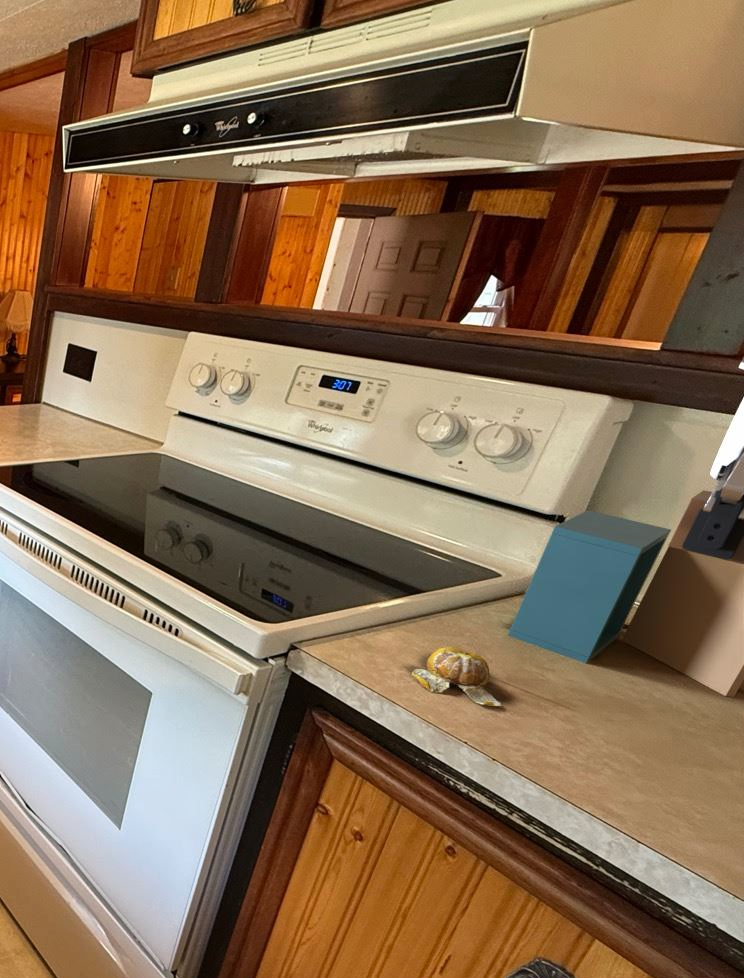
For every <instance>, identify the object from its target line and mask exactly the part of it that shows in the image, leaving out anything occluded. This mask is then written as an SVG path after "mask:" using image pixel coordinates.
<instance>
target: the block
mask: <svg viewBox="0 0 744 978" xmlns="http://www.w3.org/2000/svg"><path fill="white" fill-rule="evenodd" d="M712 492H713V491H710V490H701V491H700V492H699V493H697V494H695V496H693V497H692V498H690V500H689V502H688V505H687V507H686V509H685V511H684V512H683V515H682V517H681V519H680V521H679V523H678V525H677V527H676V529H675V530H674V533H673V535H672V537H671V539H670V541H669V543H668V545H667V547H673V548H677V549H682V550H685V549H683V547H682V545H683V543H684V541H685V539H686V537H687V535H688V533H689V531H690V529H691V527H692V525H693V523H694V521H695V519H696V517H697V515H698V513H699V511H700V509H704V507H705V505H706V503H707V501H708V499H709V497H710V495H711V494H712ZM686 551H688V550H686ZM690 552H692V551H690ZM694 553H696V552H694ZM698 554H700V553H698ZM702 555H705V554H702ZM706 556H709V555H706ZM711 557H713V556H711ZM715 558H717V557H715ZM719 559H721V558H719ZM723 560H727V561H731V562H735V563H740V564H744V536H743V538H742V540H741V542H740V544H739V546H738V547H737V549H736V551H735V553H734V555H733V556H732V557H731V558H730V559H723Z"/></svg>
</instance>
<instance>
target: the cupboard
mask: <svg viewBox="0 0 744 978" xmlns="http://www.w3.org/2000/svg"><path fill="white" fill-rule="evenodd" d="M671 532H672V529H671V528H666V527H662V526H658V525H654V524H649V523H645V522H640V521H637V520H632V519H628V518H624V517H619V516H616V515H615V516H614V515H611V514H606V513H603V512H597V511H593V510H589V509H588V510H586V511H583V512H581V513H579V514H576V515H575V516H573V517H571V518H569V519H567V520H565V521H563V522H561V523H558V524H556V525H555V526H554V528H553V530H552V532H551V534H550V537H549V539H548V541H547V543H546V546H545V548H544V550H543V552H542V555H541V557H540V558H539V559H540V560H539V561H538V565H536V566H537V567H536V569H535V570H534V573H533V576H532V578H531V580H530V582H529V585H528V586H527V589H526V591H525V594H524V596H523V599H522V601H521V603H520V606H519V609H518V610H517V613H516V614H515V617H514V619H513V621H512V624H511V627H510V629H509V631H508V633H507V636H508V637H509V638H514V639H516V640H519V641H522V642H525V643H526V644H527V643H528V644H530V645H533V646H536V647H538V648H541V649H544V650H547V651H549V652H553V653H555V654H558V655H561V656H563V657H567V658H569V659H572V660H574V661H578V662H580V663H584V664H588V663H589V662H590V661H591V660H592V659H594V658H595V657H596V656H598V655H599V654H600V653H601V652H602V651H603V650H605V649H607V647H608V646H610V645H611V644H612V643H614V642H615V641H616V640H617V639H618V638H619V636H620V633H621V631H622V629H623V627H624V625H625V624H626V621H627V620H628V617H629V616H630V614H631V611H632V610H633V607H634V605H635V603H636V601H637V599H638V597H639V595H640V594H641V591H642V590H643V587H644V585H645V583H646V581H647V579H648V578H649V575H650V573H651V571H652V569H653V567H654V565H655V564H656V561H657V559H658V557H659V555H660V554H661V552H662V549H663V547H664V545H665V544H666V542H667V539H668V538H669V536H670V533H671Z"/></svg>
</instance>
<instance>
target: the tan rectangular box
mask: <svg viewBox="0 0 744 978" xmlns="http://www.w3.org/2000/svg"><path fill="white" fill-rule="evenodd" d="M621 641H622V642H624V643H626V644H628V645H629V646H631V647H633V648H635V649H637V650H639V651H641V652H643V653H644V654H646V655H648V656H650V657H652V658H653V659H656V660H657V661H659V662H661V663H663V664H665V665H667V666H669V668H670V667H671V668H672V669H673V670H674V669H675V670H676V671H678V672H680V673H681V674H683V675H685V676H687V677H689V678H690V679H692V680H695V681H696V682H698V683H700V684H702V685H704V686H706V687H707V688H709V689H711V690H713V691H715V692H716V693H718V694H720V695H722V696H724V697H730V698H731V697H732V698H734V697H735V696H736V694H737V693H738V690H739V689H740V687H741V685H742V683H743V682H744V564H740V563H735V562H731V561H727V560H723V559H719V558H715V557H711V556H706V555H702V554H698V553H694V552H690V551H686V550H682V549H677V548H673V547H669V546H667V549H666V551H665V553H664V555H663V556H662V559H661V560H660V563H659V565H658V566H657V568H656V571H655V572H654V574H653V576H652V578H651V580H650V582H649V585H648V586H647V588H646V590H645V592H644V594H643V596H642V598H641V601H640V602H639V605H638V606H637V608H636V610H635V612H634V614H633V616H632V618H631V620H630V622H629V624H628V626H627V629H626V630H625V632H624V634H623V636H622V638H621Z"/></svg>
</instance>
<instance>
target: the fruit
mask: <svg viewBox="0 0 744 978" xmlns="http://www.w3.org/2000/svg"><path fill="white" fill-rule="evenodd" d="M426 667H427V668H426V669H422V668H415V669H414V670H413V671H412V672H411V675H412V677H413V678H414V679H416V680H417V681H418V682H419V684H420V685H421V686H422V687H423V688H426V689H427V691H430V692H431V693H435V694H437V693H438V694H439V693H440V694H442V693H443V692H444V691H445V690H447V689H449V688H450V684H453V685H456V686H458V687H459V688H460V689H462V691H463V692H464V693H465V694H466V695H467V697H468V698H469V699H470V700H472V702H474V703H475V704H479V705H483V706H487V707H502V706H503V704H502V703H501V702H500V701H498V699H496V698H495V697H494V696H493V694H491V693H489V692H488V690H486V689H485V688H484V686H485V685H487V683H488V682H489V681H490V667H489V665H488V662H487V661H486V660H485V659H484V658H483V657H482V656H481V655H479V654H478V653H475V652H473V651H472V652H471V651H469V650H465V649H463V648H459V647H454V646H446V647H445V646H444V647H440V648H438V649H437V650H435V651H434V652H432V653H431V655H430V656H429V657H428V658H427V660H426Z"/></svg>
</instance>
